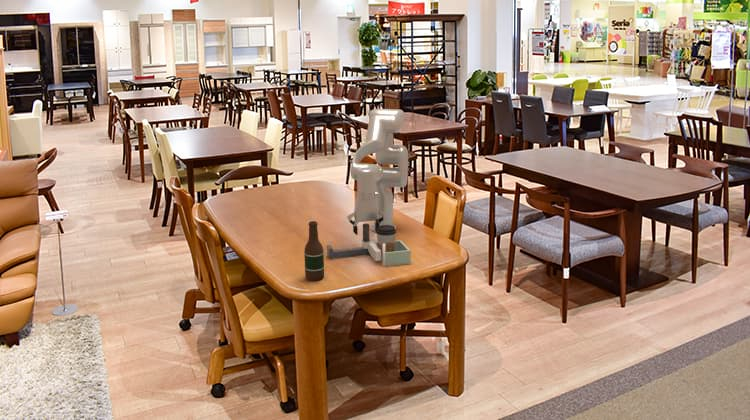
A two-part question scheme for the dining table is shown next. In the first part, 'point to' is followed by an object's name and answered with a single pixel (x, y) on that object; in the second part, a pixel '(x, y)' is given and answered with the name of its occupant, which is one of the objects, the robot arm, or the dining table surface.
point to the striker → (370, 243)
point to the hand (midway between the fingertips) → (366, 232)
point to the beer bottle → (314, 255)
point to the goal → (395, 254)
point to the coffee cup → (386, 238)
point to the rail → (346, 252)
